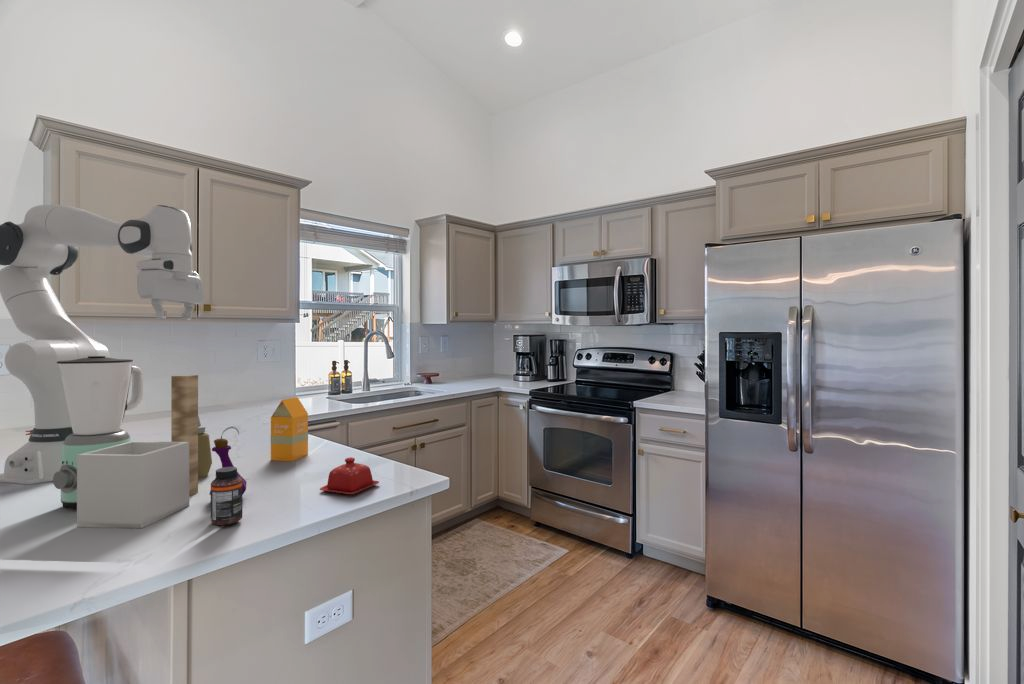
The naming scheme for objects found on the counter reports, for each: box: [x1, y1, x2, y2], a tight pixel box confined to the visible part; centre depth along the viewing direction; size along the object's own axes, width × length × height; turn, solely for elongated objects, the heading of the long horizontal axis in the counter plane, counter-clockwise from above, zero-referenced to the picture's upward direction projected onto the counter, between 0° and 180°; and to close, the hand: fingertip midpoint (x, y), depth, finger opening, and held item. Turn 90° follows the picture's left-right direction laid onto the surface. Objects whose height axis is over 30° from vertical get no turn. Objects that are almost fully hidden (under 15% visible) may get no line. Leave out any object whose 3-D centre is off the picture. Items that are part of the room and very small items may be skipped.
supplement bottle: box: [210, 466, 243, 526], centre depth 106 cm, size 6×6×11 cm
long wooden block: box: [170, 374, 199, 497], centre depth 124 cm, size 4×4×30 cm
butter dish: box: [319, 456, 380, 495], centre depth 129 cm, size 12×12×8 cm
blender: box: [52, 356, 144, 508], centre depth 119 cm, size 19×13×35 cm
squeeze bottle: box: [198, 415, 213, 480], centre depth 140 cm, size 8×8×18 cm
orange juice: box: [270, 396, 309, 462], centre depth 161 cm, size 8×9×20 cm
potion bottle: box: [209, 425, 247, 496], centre depth 120 cm, size 8×8×18 cm
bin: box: [76, 440, 190, 529], centre depth 109 cm, size 14×14×15 cm
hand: (174, 318), depth 132 cm, fingers open, 8 cm apart
